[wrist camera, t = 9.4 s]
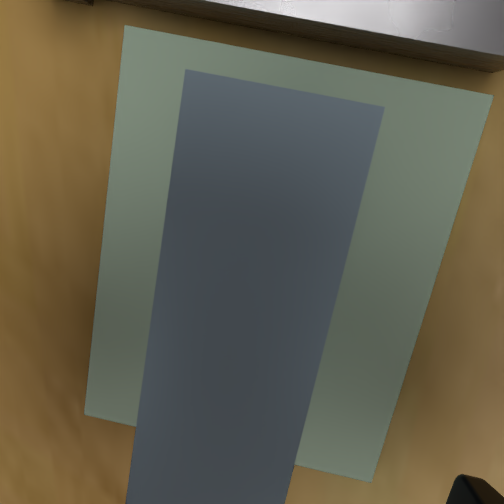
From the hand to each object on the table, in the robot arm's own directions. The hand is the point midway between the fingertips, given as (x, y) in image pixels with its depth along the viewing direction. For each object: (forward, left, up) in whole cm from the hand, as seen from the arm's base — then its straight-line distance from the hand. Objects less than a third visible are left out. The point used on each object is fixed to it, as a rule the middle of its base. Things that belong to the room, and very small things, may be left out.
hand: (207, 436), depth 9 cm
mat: (0, 0, -10) cm, 10 cm away
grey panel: (0, 0, -9) cm, 9 cm away
